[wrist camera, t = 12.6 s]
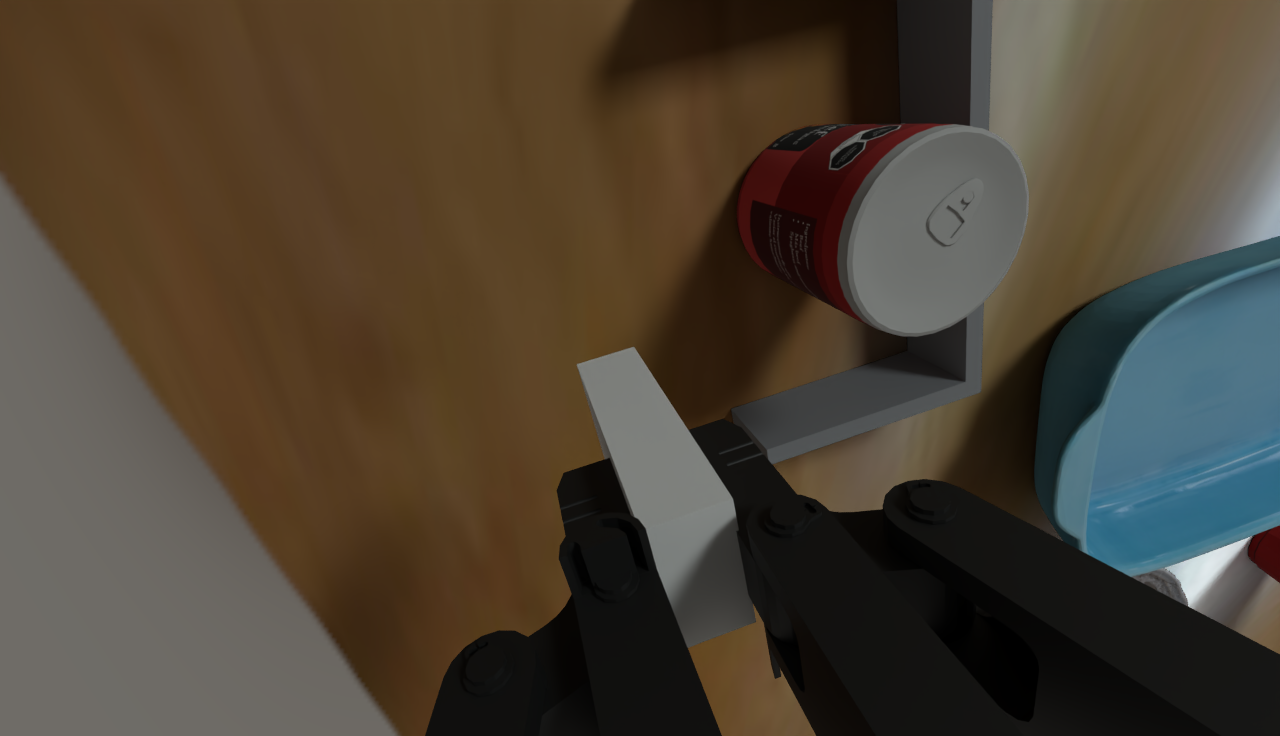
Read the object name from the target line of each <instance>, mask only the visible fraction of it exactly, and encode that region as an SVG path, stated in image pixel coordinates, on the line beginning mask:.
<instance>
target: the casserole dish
mask: <svg viewBox="0 0 1280 736" xmlns="http://www.w3.org/2000/svg"><path fill="white" fill-rule="evenodd" d="M1034 479H1035V489H1036V493H1037V496H1038V499H1039V502H1040V504H1041V507H1042V509H1043V511H1044V512H1045V514H1046V515H1047V517H1048V519H1049V520H1050V522H1051V524H1052V525H1053V527H1054V528H1055V530H1056V531H1057V533H1058V534H1059V536H1060V537H1061V538H1062V540H1063V541H1064V542H1065V543H1067V544H1069V545H1071V546H1073V547H1075V548H1077V549H1079V550H1080V551H1082V552H1084V553H1086V554H1088V555H1090V556H1092V557H1094V558H1096V559H1098V560H1100V561H1102V562H1103V563H1105V564H1107V565H1109V566H1111V567H1113V568H1115V569H1117V570H1119V571H1121V572H1123V573H1124V574H1126V575H1128V576H1130V577H1133V576H1138V575H1141V574H1145V573H1148V572H1152V571H1155V570H1158V569H1162V568H1165V567H1168V566H1171V565H1174V564H1177V563H1180V562H1183V561H1185V560H1188V559H1191V558H1194V557H1197V556H1199V555H1202V554H1205V553H1208V552H1210V551H1213V550H1216V549H1218V548H1221V547H1224V546H1226V545H1229V544H1232V543H1235V542H1237V541H1240V540H1243V539H1245V538H1248V537H1250V536H1253V535H1256V534H1258V533H1261V532H1264V531H1266V530H1269V529H1271V528H1274V527H1277V526H1279V525H1280V236H1278V237H1274V238H1271V239H1268V240H1264V241H1261V242H1257V243H1254V244H1251V245H1247V246H1243V247H1240V248H1236V249H1232V250H1229V251H1225V252H1222V253H1218V254H1214V255H1211V256H1207V257H1204V258H1200V259H1197V260H1193V261H1190V262H1187V263H1183V264H1180V265H1177V266H1174V267H1171V268H1167V269H1164V270H1161V271H1158V272H1156V273H1153V274H1150V275H1148V276H1145V277H1142V278H1140V279H1137V280H1135V281H1133V282H1130V283H1128V284H1126V285H1124V286H1121V287H1119V288H1117V289H1115V290H1113V291H1111V292H1109V293H1107V294H1105V295H1103V296H1102V297H1100V298H1098V299H1096V300H1095V301H1093V302H1092V303H1090V304H1089V305H1087V306H1086V307H1084V308H1083V309H1082V310H1081V311H1080V312H1079V313H1078V314H1076V315H1075V316H1074V317H1073V318H1072V319H1071V320H1070V321H1069V322H1068V323H1067V324H1066V325H1065V326H1064V327H1063V329H1062V330H1061V332H1060V333H1059V335H1058V336H1057V338H1056V340H1055V342H1054V344H1053V346H1052V348H1051V351H1050V354H1049V356H1048V360H1047V363H1046V367H1045V371H1044V376H1043V382H1042V391H1041V400H1040V410H1039V420H1038V430H1037V441H1036V452H1035V468H1034Z"/></svg>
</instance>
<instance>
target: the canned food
mask: <svg viewBox="0 0 1280 736" xmlns="http://www.w3.org/2000/svg"><path fill="white" fill-rule="evenodd" d="M1028 202H1029V192H1028V185H1027V178H1026V174H1025V172H1024V169H1023V166H1022V163H1021V161H1020V159H1019V157H1018V156H1017V154H1016V153H1015V151H1014V150H1013V148H1012V147H1011V146H1010V145H1009V144H1008V143H1007V142H1006V141H1005V140H1003V139H1002V138H1001V137H1000V136H999V135H997V134H995V133H992V132H990V131H988V130H985V129H983V128H976V127H972V126H965V125H957V124H934V123H928V124H818V125H810V126H804V127H801V128H798V129H795V130H792V131H790V132H789V133H787V134H785V135H783V136H782V137H780V138H778V139H777V140H776V141H774V142H773V143H772V144H771V145H769V146H768V147H767V148H766V149H765V150H764V151H763V152H761V154H760V155H759V156H758V157H757V159H756V160H755V161H754V162H753V164H752V165H751V167H750V169H749V171H748V172H747V174H746V176H745V178H744V181H743V183H742V186H741V189H740V192H739V198H738V203H737V223H738V229H739V233H740V236H741V239H742V241H743V244H744V246H745V248H746V250H747V252H748V253H749V255H750V256H751V258H752V259H753V261H754V262H755V263H756V264H758V265H759V266H760V267H761V268H762V269H763V270H765V271H767V272H769V273H770V274H772V275H774V276H776V277H778V278H780V279H782V280H784V281H785V282H787V283H789V284H791V285H793V286H795V287H797V288H799V289H800V290H802V291H804V292H806V293H808V294H810V295H812V296H814V297H816V298H817V299H819V300H821V301H823V302H825V303H827V304H829V305H831V306H832V307H834V308H836V309H838V310H840V311H842V312H844V313H846V314H848V315H849V316H851V317H853V318H855V319H857V320H859V321H861V322H863V323H866V324H868V325H870V326H872V327H873V328H875V329H877V330H881V331H885V332H887V333H891V334H895V335H898V336H915V337H918V336H923V335H928V334H933V333H936V332H938V331H941V330H943V329H946V328H948V327H951V326H952V325H954V324H956V323H957V322H959V321H961V320H962V319H964V318H965V317H967V316H968V315H969V314H971V313H972V312H973V311H974V310H975V309H977V308H978V307H979V306H980V305H981V304H982V303H983V302H984V301H985V300H986V299H987V298H988V297H989V296H990V295H991V294H992V292H993V291H994V290H995V289H996V288H997V286H998V285H999V283H1000V282H1001V281H1002V279H1003V278H1004V276H1005V275H1006V273H1007V272H1008V270H1009V268H1010V266H1011V264H1012V262H1013V260H1014V258H1015V256H1016V255H1017V252H1018V249H1019V247H1020V244H1021V241H1022V238H1023V235H1024V232H1025V227H1026V222H1027V217H1028Z"/></svg>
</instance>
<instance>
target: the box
mask: <svg viewBox="0 0 1280 736" xmlns="http://www.w3.org/2000/svg"><path fill="white" fill-rule="evenodd" d="M992 5H993V0H897V17H898V51H899V84H900V117H901V124H928V123H934V124H957V125H965V126H972V127H976V128H983V129H985V130H988V131H989V106H990V73H991V39H992ZM983 309H984V302H983V303H982V304H981V305H980V306H979V307H978V308H977V309H975V310H974V311H973V312H972V313H971V314H969V315H968V316H967V317H965V318H964V319H962V320H961V321H959V322H957V323H956V324H954V325H952V326H951V327H948V328H946V329H943V330H941V331H938V332H936V333H933V334H928V335H923V336H918V337H915V336H907V351H906V352H903V353H900V354H897V355H893V356H890V357H887V358H884V359H881V360H878V361H875V362H872V363H869V364H866V365H863V366H860V367H857V368H854V369H851V370H848V371H845V372H842V373H839V374H836V375H833V376H830V377H827V378H824V379H821V380H818V381H814V382H811V383H808V384H805V385H802V386H799V387H796V388H793V389H790V390H787V391H784V392H781V393H778V394H775V395H772V396H769V397H766V398H763V399H760V400H757V401H754V402H751V403H748V404H745V405H742V406H738V407H735V408H732V409H731V411H732V417H733V422H734V424H735V425H737V426H740V427H742V429H743V430H744V431H745V432H746V433H747V435H748V436H749V437H750V438H751V439H752V441H753V443H755V444H756V446H757V447H758V448H759V449H760V450H761V452H762V454H763V455H765V456H766V458H767V459H768V460H769V461H770V462H771V464H774V463H777V462H780V461H783V460H786V459H789V458H792V457H795V456H798V455H800V454H803V453H806V452H809V451H812V450H815V449H818V448H821V447H824V446H826V445H829V444H832V443H835V442H838V441H841V440H844V439H847V438H850V437H852V436H855V435H858V434H861V433H864V432H867V431H870V430H873V429H876V428H879V427H881V426H884V425H887V424H890V423H893V422H896V421H899V420H902V419H905V418H907V417H910V416H913V415H916V414H919V413H922V412H925V411H928V410H931V409H934V408H936V407H939V406H942V405H945V404H948V403H951V402H954V401H957V400H960V399H962V398H965V397H968V396H971V395H974V394H977V393H980V392H981V376H982V342H983Z"/></svg>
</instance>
